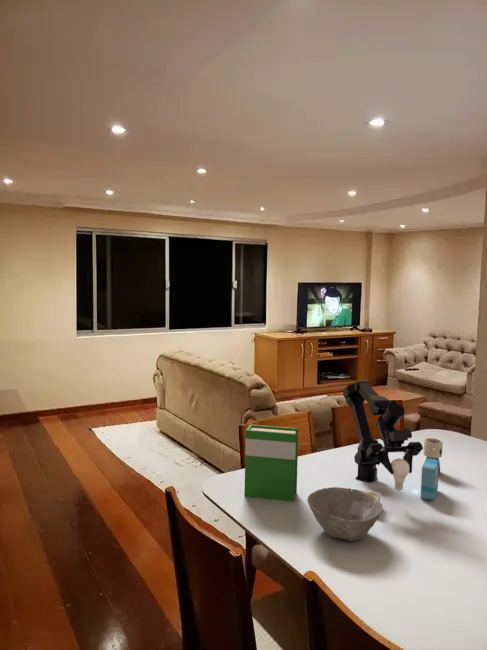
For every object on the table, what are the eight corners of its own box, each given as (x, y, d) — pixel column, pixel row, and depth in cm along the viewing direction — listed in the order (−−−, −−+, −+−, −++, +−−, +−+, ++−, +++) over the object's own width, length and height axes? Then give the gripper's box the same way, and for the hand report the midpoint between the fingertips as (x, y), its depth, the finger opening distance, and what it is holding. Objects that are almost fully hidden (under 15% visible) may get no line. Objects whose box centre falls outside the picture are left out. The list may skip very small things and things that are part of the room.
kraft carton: (355, 511, 172) (355, 498, 171) (358, 502, 178) (359, 489, 178) (377, 515, 169) (378, 501, 169) (379, 506, 176) (380, 493, 175)
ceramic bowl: (337, 561, 141) (339, 526, 140) (292, 525, 161) (293, 494, 160) (398, 543, 151) (399, 510, 150) (348, 511, 171) (349, 482, 171)
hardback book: (296, 493, 185) (298, 428, 183) (294, 501, 178) (295, 434, 176) (248, 488, 189) (250, 424, 187) (244, 496, 182) (245, 430, 180)
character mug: (442, 477, 203) (444, 445, 202) (423, 475, 205) (425, 443, 203) (439, 468, 213) (441, 437, 212) (421, 466, 215) (423, 435, 214)
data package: (433, 502, 180) (435, 469, 179) (420, 499, 182) (421, 466, 181) (437, 490, 190) (439, 458, 189) (424, 487, 192) (426, 456, 191)
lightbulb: (386, 486, 177) (387, 455, 176) (404, 486, 177) (405, 455, 176) (393, 494, 171) (394, 462, 170) (411, 494, 171) (413, 462, 170)
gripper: (370, 420, 174) (383, 464, 164) (421, 419, 177) (437, 461, 167) (360, 436, 183) (372, 478, 173) (409, 434, 186) (423, 475, 176)
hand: (401, 473), depth 172 cm, fingers closed on lightbulb, 6 cm apart
